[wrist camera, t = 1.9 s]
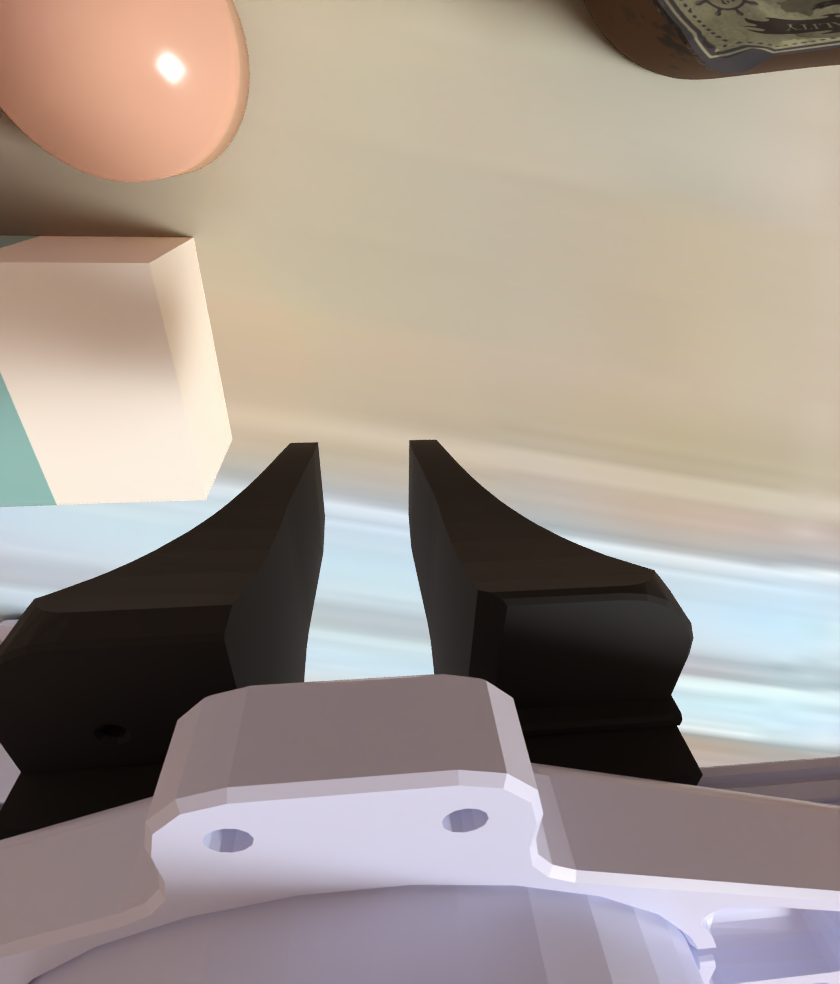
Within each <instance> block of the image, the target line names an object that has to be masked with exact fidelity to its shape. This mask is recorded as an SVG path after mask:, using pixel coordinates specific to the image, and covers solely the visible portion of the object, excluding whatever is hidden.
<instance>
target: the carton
mask: <svg viewBox="0 0 840 984" xmlns="http://www.w3.org/2000/svg"><path fill="white" fill-rule="evenodd" d="M231 441H232V435H231V430H230V425H229V420H228V414H227V409H226V404H225V399H224V394H223V388H222V383H221V378H220V373H219V368H218V362H217V357H216V352H215V347H214V341H213V336H212V331H211V326H210V321H209V315H208V310H207V305H206V300H205V295H204V289H203V284H202V279H201V274H200V269H199V263H198V258H197V253H196V248H195V243H194V237H89V236H20V235H0V507H12V506H43V505H61V504H92V503H123V502H154V501H186V500H206V499H207V497H208V494H209V492H210V490H211V487H212V485H213V483H214V480H215V478H216V476H217V473H218V471H219V469H220V466H221V464H222V462H223V460H224V457H225V455H226V453H227V450H228V448H229V446H230V443H231Z"/></svg>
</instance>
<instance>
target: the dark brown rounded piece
mask: <svg viewBox="0 0 840 984" xmlns="http://www.w3.org/2000/svg"><path fill="white" fill-rule="evenodd" d="M584 1H585V3H586V6H587V8H588V9H589V11H590V13H591V15H592V17H593V19H594V20H595V22H596V23H597V25H598V26H599V28H600V29H601V31H602V32H603V33H604V35H605V36H606V37H607V38H608V39H609V41H610V42H611V43H612V44H613V45H614V46H615V47H616V48H617V49H618V50H619V51H620V52H621V53H623V54H624V55H625V56H626V57H628V58H629V59H630V60H632V61H633V62H635V63H636V64H638V65H640V66H641V67H643V68H645V69H647V70H650V71H652V72H655V73H658V74H661V75H664V76H668V77H672V78H678V79H690V80H699V79H714V78H723V77H732V76H740V75H749V74H757V73H766V72H774V71H783V70H791V69H800V68H809V67H819V66H829V65H840V0H584Z"/></svg>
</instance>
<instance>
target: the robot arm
mask: <svg viewBox="0 0 840 984" xmlns="http://www.w3.org/2000/svg"><path fill="white" fill-rule="evenodd" d="M324 525H325V513H324V502H323V491H322V481H321V470H320V459H319V449H318V442H316V443H290V444H289V445H288V446H287V447H286V448H285V449H284V450H283V451H282V452H281V453H280V454H279V455H278V456H277V458H276V459H275V460H274V461H273V462H272V463H271V464H270V465H269V466H268V467H267V468H266V469H265V470H264V471H263V472H262V473H261V474H260V475H259V476H258V477H257V478H256V479H255V480H254V481H253V482H252V483H251V484H250V485H249V486H248V487H247V488H245V489H244V490H243V491H242V492H241V493H240V494H239V495H237V496H236V497H235V498H234V499H233V500H232V501H231V502H229V503H228V504H227V505H226V506H224V507H223V508H222V509H221V510H219V511H218V512H217V513H215V514H214V515H213V516H211V517H210V518H208V519H207V520H205V521H204V522H202V523H201V524H199V525H198V526H196V527H195V528H193V529H192V530H190V531H189V532H187V533H185V534H183V535H182V536H180V537H178V538H176V539H174V540H173V541H171V542H169V543H167V544H166V545H164V546H162V547H160V548H159V549H157V550H155V551H153V552H151V553H149V554H147V555H145V556H143V557H141V558H139V559H137V560H135V561H133V562H130V563H128V564H126V565H124V566H121V567H119V568H117V569H115V570H112V571H110V572H108V573H105V574H103V575H100V576H98V577H95V578H93V579H90V580H87V581H84V582H82V583H79V584H76V585H73V586H71V587H68V588H65V589H62V590H59V591H57V592H54V593H51V594H48V595H45V596H42V597H39V598H36V599H34V600H33V602H32V603H31V604H30V605H29V607H28V608H27V609H26V611H25V612H24V613H23V615H22V616H21V617H20V619H18V620H4V621H2V622H0V640H1V641H2V644H1V645H0V984H840V757H827V758H814V759H802V760H789V761H777V762H764V763H751V764H739V765H726V766H714V767H701V768H699V766H698V765H697V763H696V761H695V759H694V757H693V755H692V753H691V751H690V750H689V748H688V746H687V744H686V742H685V740H684V738H683V737H682V735H681V733H680V731H679V729H678V727H677V725H680V724H681V722H682V715H681V712H680V710H679V708H678V707H677V705H676V703H675V701H674V699H673V698H672V696H671V694H672V692H673V689H674V687H675V685H676V683H677V680H678V678H679V676H680V674H681V671H682V669H683V667H684V665H685V662H686V660H687V658H688V655H689V653H690V649H691V645H692V641H693V633H692V626H691V622H690V621H689V619H688V618H687V616H686V615H685V613H684V612H683V610H682V608H681V607H680V605H679V604H678V602H677V601H676V599H675V598H674V596H673V594H672V593H671V591H670V590H669V589H668V587H667V586H666V585H665V583H664V582H663V581H662V579H661V578H660V577H659V576H658V574H657V573H656V572H655V570H652V569H648V568H645V567H642V566H639V565H635V564H632V563H629V562H626V561H622V560H619V559H616V558H613V557H609V556H606V555H604V554H601V553H598V552H596V551H593V550H591V549H588V548H586V547H583V546H581V545H578V544H576V543H574V542H571V541H569V540H567V539H565V538H562V537H560V536H558V535H556V534H554V533H552V532H550V531H549V530H547V529H545V528H543V527H541V526H539V525H537V524H535V523H534V522H532V521H530V520H528V519H527V518H525V517H524V516H522V515H520V514H519V513H517V512H516V511H514V510H513V509H511V508H510V507H508V506H507V505H505V504H504V503H503V502H501V501H500V500H498V499H497V498H496V497H495V496H493V495H492V494H491V493H490V492H488V491H487V490H486V489H485V488H484V487H482V486H481V485H480V484H479V483H478V482H477V481H475V480H474V479H473V478H472V477H471V476H470V475H469V474H468V473H467V472H466V471H465V470H464V469H463V468H462V467H461V466H460V465H459V464H458V463H457V462H456V461H455V460H454V459H453V457H452V456H451V455H450V454H449V453H448V452H447V451H446V450H445V449H444V448H443V446H442V445H441V444H440V443H439V442H438V441H437V440H409V525H410V537H411V548H412V553H413V558H414V562H415V567H416V572H417V576H418V581H419V586H420V590H421V595H422V599H423V604H424V608H425V613H426V618H427V622H428V627H429V633H430V639H431V647H432V657H433V666H434V675H417V676H401V677H384V678H368V679H352V680H335V681H319V682H304V675H305V661H306V648H307V640H308V633H309V627H310V622H311V616H312V611H313V605H314V600H315V595H316V589H317V584H318V578H319V573H320V567H321V562H322V556H323V546H324Z"/></svg>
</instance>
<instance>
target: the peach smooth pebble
mask: <svg viewBox="0 0 840 984" xmlns="http://www.w3.org/2000/svg"><path fill="white" fill-rule="evenodd" d="M249 75H250V72H249V58H248V51H247V45H246V39H245V35H244V32H243V28H242V24H241V21H240V18H239V15H238V13H237V10H236V8H235V5H234V2H233V0H0V107H1V108H2V110H3V111H4V112H5V113H6V114H7V115H8V116H9V117H10V119H11V120H12V121H13V122H14V123H15V124H16V125H17V126H18V127H19V128H20V129H21V130H22V131H23V132H24V133H25V134H26V135H27V136H28V137H29V138H30V139H32V140H33V141H34V142H35V143H37V144H38V145H39V146H40V147H42V148H43V149H44V150H46V151H47V152H48V153H50V154H51V155H53V156H54V157H56V158H58V159H59V160H61V161H62V162H64V163H66V164H68V165H70V166H72V167H74V168H76V169H78V170H80V171H82V172H85V173H88V174H91V175H93V176H96V177H100V178H104V179H108V180H113V181H122V182H142V181H149V180H155V179H160V178H165V177H171V176H176V175H181V174H186V173H190V172H193V171H195V170H198V169H200V168H202V167H204V166H206V165H207V164H209V163H211V162H212V161H213V160H215V159H216V158H217V157H218V156H219V155H220V154H222V152H223V151H224V150H225V149H226V148H227V147H228V145H229V144H230V143H231V141H232V139H233V138H234V136H235V135H236V133H237V131H238V129H239V126H240V124H241V122H242V119H243V116H244V112H245V109H246V105H247V99H248V93H249Z"/></svg>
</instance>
